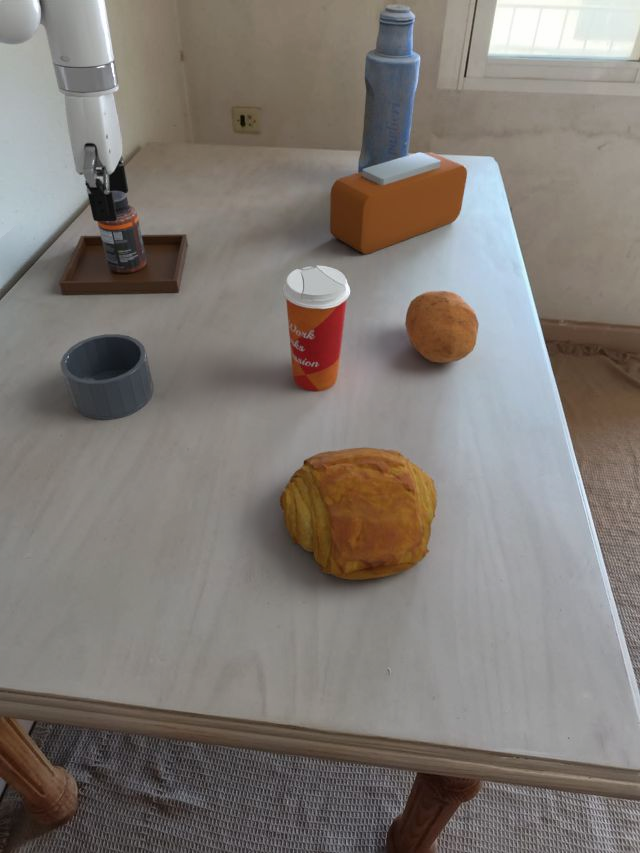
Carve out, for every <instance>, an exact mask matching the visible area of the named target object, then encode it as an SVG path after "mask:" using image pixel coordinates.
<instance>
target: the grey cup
mask: <svg viewBox="0 0 640 853" xmlns="http://www.w3.org/2000/svg"><path fill="white" fill-rule="evenodd" d="M60 368H61V373H62V375H63V376H62V377H63V379H64V382H65V384H66V388H67V390H68V393H69V397H70V399H71V402H72V404H73V407H74V408H75V410H76V411H77V412H78V413H79V414H81V415H82V416H84V417H87V418H90V419H93V420H103V421H104V420H105V421H106V420H115V419H121V418H124V417H128V416H130V415H132V414H135V413H137V412H138V411H139V410H141V409H142V408H143V407H145V406H146V405H147V404H148V403H149V401H150V400H151V399H152V396H153V394H154V383H153V378H152V372H151V369H150V364H149V359H148V355H147V351H146V348H145V345H143V343H141V342H140V340H139V339H136V338H134V337H133V336H129V335H125V334H119V333H107V334H105V333H104V334H99V335H95V336H91V337H88V338H86V339H82V340H81V341H78V342H77V343H75V344H74V345H72V346H71V347H69V349H67V351H66V352H65V353H64V354H63V356H62V358H61V361H60Z"/></svg>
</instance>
